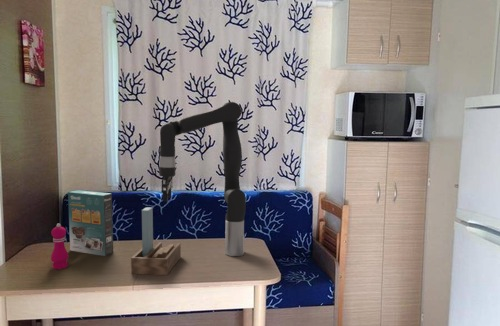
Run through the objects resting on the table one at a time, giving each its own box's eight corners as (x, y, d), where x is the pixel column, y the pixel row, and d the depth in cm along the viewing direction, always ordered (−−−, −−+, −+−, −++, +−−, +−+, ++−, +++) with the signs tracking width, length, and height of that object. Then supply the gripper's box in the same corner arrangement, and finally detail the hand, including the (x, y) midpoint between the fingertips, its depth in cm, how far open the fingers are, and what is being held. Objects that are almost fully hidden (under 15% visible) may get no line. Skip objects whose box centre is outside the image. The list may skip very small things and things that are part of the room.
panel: (153, 261, 191) (152, 207, 188) (149, 266, 185) (148, 210, 182) (147, 261, 191) (146, 207, 188) (142, 266, 185) (141, 210, 183)
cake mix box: (113, 252, 204) (111, 193, 201) (105, 256, 198) (103, 195, 195) (79, 247, 212) (77, 190, 208) (70, 250, 206) (68, 192, 203)
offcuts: (174, 260, 194) (174, 243, 193) (166, 270, 181) (166, 252, 180) (160, 259, 194) (160, 243, 194) (152, 269, 182) (151, 252, 181)
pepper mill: (65, 262, 189) (63, 220, 186) (71, 266, 183) (69, 223, 181) (48, 266, 184) (47, 223, 181) (54, 270, 178) (52, 226, 176)
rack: (180, 256, 198) (180, 242, 197) (167, 275, 175) (166, 259, 174) (149, 255, 199) (148, 241, 199) (131, 273, 176) (131, 257, 176)
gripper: (172, 167, 185) (172, 202, 187) (177, 164, 199) (177, 197, 201) (156, 167, 185) (155, 202, 187) (162, 163, 199) (162, 196, 201)
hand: (167, 199), depth 194 cm, fingers open, 8 cm apart
